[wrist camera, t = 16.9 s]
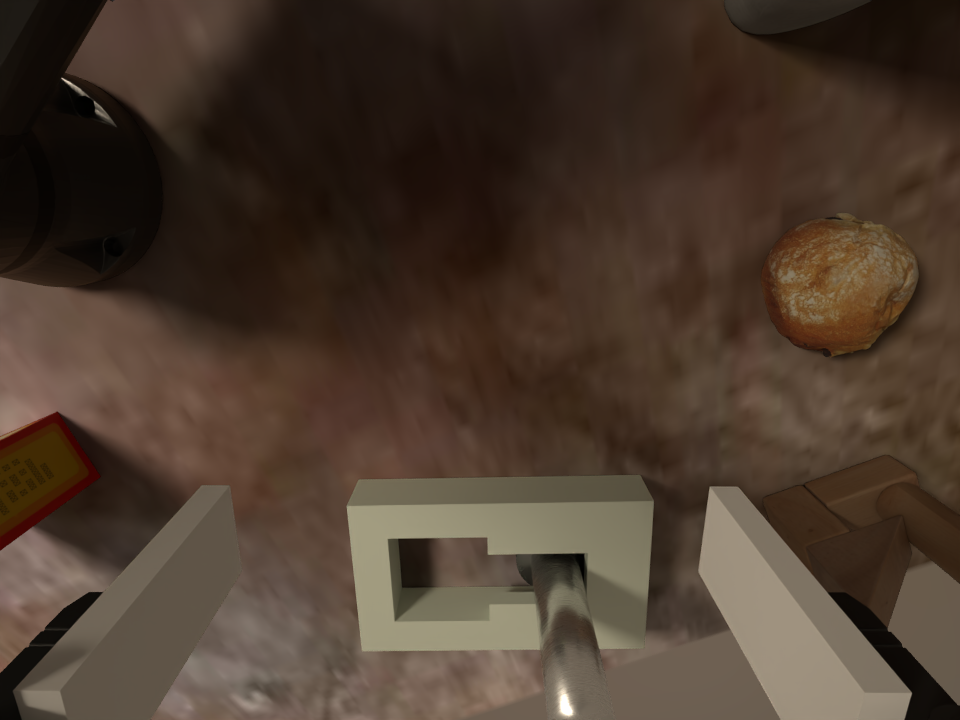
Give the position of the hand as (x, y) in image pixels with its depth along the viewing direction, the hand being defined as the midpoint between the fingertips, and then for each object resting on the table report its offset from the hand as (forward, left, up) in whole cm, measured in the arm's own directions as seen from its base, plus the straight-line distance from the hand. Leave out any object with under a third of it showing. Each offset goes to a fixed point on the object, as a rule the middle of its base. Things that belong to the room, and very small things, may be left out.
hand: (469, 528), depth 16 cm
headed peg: (+6, -22, -30) cm, 38 cm away
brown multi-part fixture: (+29, -17, -31) cm, 45 cm away
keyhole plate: (+1, -22, -30) cm, 37 cm away
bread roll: (+26, +1, -31) cm, 40 cm away
